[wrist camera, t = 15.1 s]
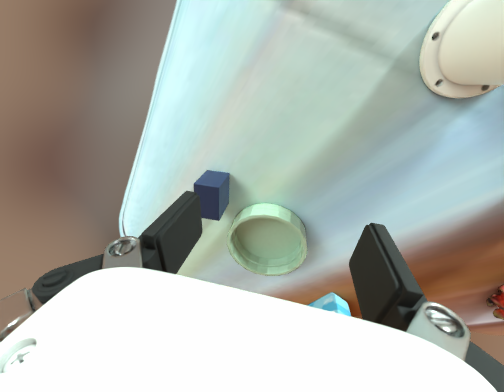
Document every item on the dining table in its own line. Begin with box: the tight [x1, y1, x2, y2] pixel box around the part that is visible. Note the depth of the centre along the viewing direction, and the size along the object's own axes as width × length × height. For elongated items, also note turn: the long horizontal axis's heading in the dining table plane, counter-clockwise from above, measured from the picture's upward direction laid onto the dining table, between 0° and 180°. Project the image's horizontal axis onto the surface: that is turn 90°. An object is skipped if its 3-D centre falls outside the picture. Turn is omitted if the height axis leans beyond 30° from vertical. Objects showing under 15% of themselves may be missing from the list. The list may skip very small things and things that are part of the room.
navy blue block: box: [194, 170, 229, 221], centre depth 39 cm, size 5×7×6 cm, turn 175°
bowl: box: [227, 203, 307, 276], centre depth 43 cm, size 16×16×4 cm
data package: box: [307, 293, 351, 316], centre depth 48 cm, size 12×4×12 cm, turn 143°
